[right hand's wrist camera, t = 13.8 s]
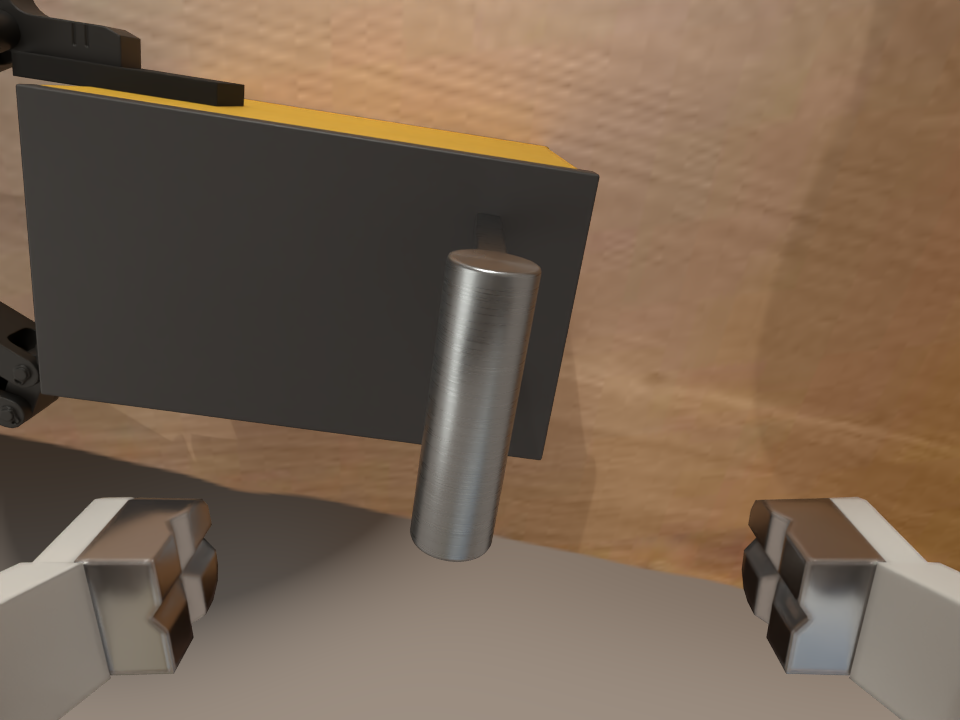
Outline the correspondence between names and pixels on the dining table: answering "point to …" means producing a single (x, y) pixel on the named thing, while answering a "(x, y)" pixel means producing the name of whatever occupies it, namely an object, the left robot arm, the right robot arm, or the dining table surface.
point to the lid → (306, 284)
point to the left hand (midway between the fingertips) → (228, 239)
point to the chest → (359, 127)
